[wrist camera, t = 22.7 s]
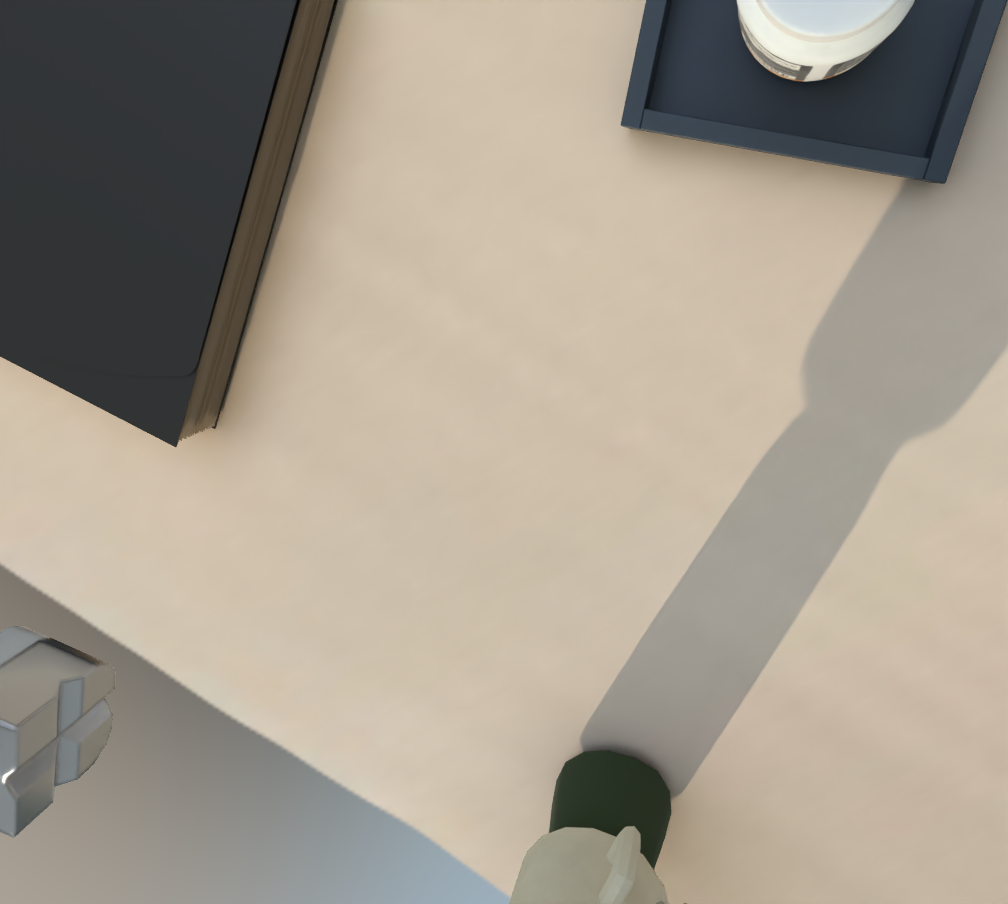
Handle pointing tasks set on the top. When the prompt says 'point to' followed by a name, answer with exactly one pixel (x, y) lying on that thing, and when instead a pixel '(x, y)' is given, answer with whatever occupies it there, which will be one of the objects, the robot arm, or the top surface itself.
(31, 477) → the top surface
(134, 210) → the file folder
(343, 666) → the top surface
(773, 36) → the pill bottle
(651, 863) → the character mug
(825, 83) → the tray
